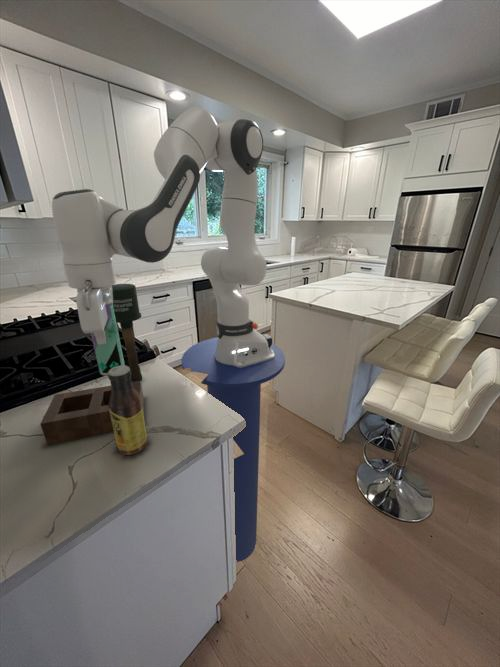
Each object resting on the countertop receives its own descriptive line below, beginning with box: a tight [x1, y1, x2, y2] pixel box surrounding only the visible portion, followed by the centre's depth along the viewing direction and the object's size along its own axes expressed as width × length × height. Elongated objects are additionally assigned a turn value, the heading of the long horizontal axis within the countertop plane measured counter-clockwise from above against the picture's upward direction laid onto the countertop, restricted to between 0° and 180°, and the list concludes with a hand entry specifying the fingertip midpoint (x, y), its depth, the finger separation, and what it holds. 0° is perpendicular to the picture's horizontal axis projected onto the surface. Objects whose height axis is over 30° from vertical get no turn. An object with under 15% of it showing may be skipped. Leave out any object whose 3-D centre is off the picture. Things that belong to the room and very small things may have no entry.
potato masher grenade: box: [112, 283, 143, 382], centre depth 81 cm, size 8×9×30 cm
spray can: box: [89, 294, 126, 377], centre depth 62 cm, size 6×6×20 cm
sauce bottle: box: [107, 365, 148, 456], centre depth 58 cm, size 7×6×20 cm
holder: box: [40, 381, 145, 446], centre depth 69 cm, size 20×11×6 cm, turn 110°
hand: (104, 337), depth 63 cm, fingers closed on spray can, 5 cm apart
